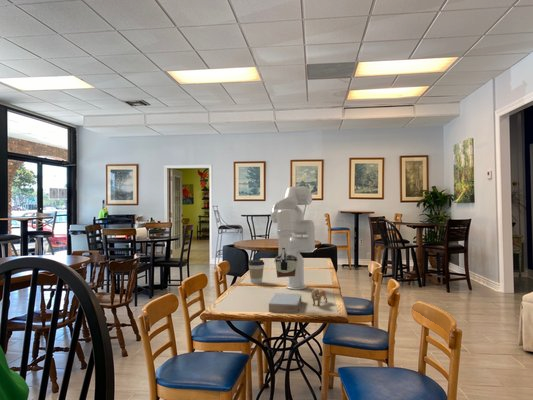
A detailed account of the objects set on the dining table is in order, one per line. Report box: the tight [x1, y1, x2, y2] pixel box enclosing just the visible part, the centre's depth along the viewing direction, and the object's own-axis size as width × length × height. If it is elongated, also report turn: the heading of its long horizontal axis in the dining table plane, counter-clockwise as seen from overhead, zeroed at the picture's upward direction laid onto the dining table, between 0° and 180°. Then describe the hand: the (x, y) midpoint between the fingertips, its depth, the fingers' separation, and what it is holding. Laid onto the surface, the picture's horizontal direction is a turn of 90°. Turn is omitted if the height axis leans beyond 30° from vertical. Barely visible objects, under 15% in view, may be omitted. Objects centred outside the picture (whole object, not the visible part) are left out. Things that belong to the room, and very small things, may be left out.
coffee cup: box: [247, 258, 265, 285], centre depth 232 cm, size 11×11×15 cm
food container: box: [273, 255, 298, 278], centre depth 178 cm, size 12×6×10 cm, turn 98°
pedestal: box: [268, 292, 302, 314], centre depth 177 cm, size 20×14×4 cm
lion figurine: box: [310, 288, 328, 307], centre depth 180 cm, size 15×5×9 cm, turn 151°
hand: (285, 268), depth 177 cm, fingers closed on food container, 6 cm apart
